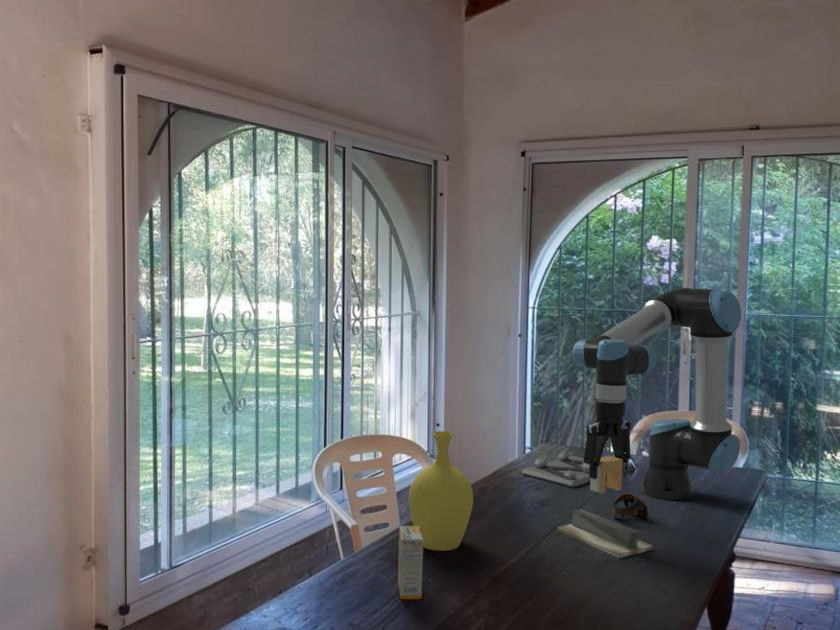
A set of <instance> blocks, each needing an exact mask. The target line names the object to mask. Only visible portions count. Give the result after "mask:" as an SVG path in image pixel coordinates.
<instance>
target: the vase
mask: <svg viewBox="0 0 840 630" xmlns="http://www.w3.org/2000/svg"><path fill="white" fill-rule="evenodd" d="M432 435H433V438H434V442H435V445H436V454H435V459H434V461H433V462H432V464H430V465H429V466H427V467H426V468H424V469H422V470H421V471H420V472H419V473H418V474H417V475H416V476H415V478H414V479H413V481H412V482H411V484H410V487H409V491H408V507H409V513H410V518H411V521H412V524H413V525H412V526H420V528H421V532H422V537H423V549H427V550H430V551H439V552H441V551H443V552H444V551H452V550H456V549H457V548H458V547H459V548H460V545H461V543H462V540H463V538H464V535H465V534H466V533H465V532H466V531H467V527H468V524H469V521H470V518H471V514H472V511H473V504H474V492H473V491H474V490H473V488H472V485H471V483H470V481H469V479H468V478H467V477H466V476H465V474H464V473H463V472H462V471H460V470H459V469H458V468H457V467H455V466H453V464H451V461H450V457H449V447H450V443H451V440H452V438H453V436H454V434H453V432H450V431H443V430H442V431H441V430H440V431H434V432H433V433H432Z"/></svg>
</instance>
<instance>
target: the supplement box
mask: <svg viewBox="0 0 840 630" xmlns="http://www.w3.org/2000/svg"><path fill="white" fill-rule="evenodd" d="M398 530H399V531H398V532H399V535H398V537H399V538H398V539H399V540H398V562H397V563H398V564H397V565H398V566H397V567H398V568H397V569H398V570H397V571H398V573H397V586H398V590H399V598H400V599H401V600H420V599H422V598H423V597H422V595H423V590H422V589H423V564H424V562H423V560H424V559H423V558H424V547H423V537H422V532H421V528H420V526H413V525H400V526H399V529H398Z"/></svg>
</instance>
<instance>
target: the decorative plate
mask: <svg viewBox="0 0 840 630" xmlns="http://www.w3.org/2000/svg"><path fill="white" fill-rule="evenodd" d="M558 454H559V455H557V459H555V460H551V461H548V460H547V461H546V459H545V458H543V459H542V458H541V457H538V458H539V459H538V458H536V459H534V462H532V464H533V466H530V467H526V468H523V469H522V470H521V474H522V476H527V477H530V478H534V479H538V480H542V481H546V482H548V483H549V482H550V483H553V484H558V485H562V486H565V487H569V488H572V489H574V488H577V487H580V486H583V485H587V484H590V481H591V478H590V476H589V474H590V465H589V464H587V463H584V457H579V456H576V455H575V456H574V455H570V454H568V453H567V452H565V451H563V450H562V451H561V452H560V451H559V453H558ZM606 476H607V473H606Z"/></svg>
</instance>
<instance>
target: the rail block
mask: <svg viewBox="0 0 840 630" xmlns="http://www.w3.org/2000/svg"><path fill="white" fill-rule="evenodd" d="M556 532H559V533H561V534H564V535H566V536H568V537H570V538H572V539H575V540H577V541H578V542H581V543H584V544H586V545H588V546H590V547H593V548H594V549H597V550H600V551H601V552H604V553H606V554H609V555H610V556H613V557H615V558H617V559H621V558H624V557H625V558H626V557H628V556H633V555H636V554H641V553H645V552H648V551H649V552H650V551H653V549H654V546H653V545H652V544H649V543H647V542H645V541H642V540H640V539H639V531H637V530H634V529H632V528H630V527H627V526H624V525H622V524H621V523H617V522H614V521H612V520H609V519H607V518H605V517H601V516H599V515H597V514H594V513H591V512H589V511H586V510H584V509H581V508H580V509H576V510H572V523H571V524H565V525H561V526H556Z"/></svg>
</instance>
